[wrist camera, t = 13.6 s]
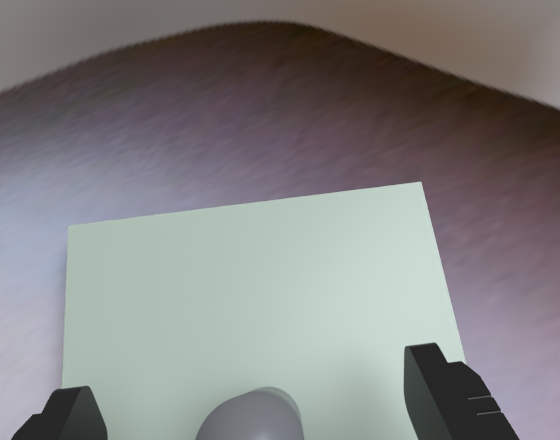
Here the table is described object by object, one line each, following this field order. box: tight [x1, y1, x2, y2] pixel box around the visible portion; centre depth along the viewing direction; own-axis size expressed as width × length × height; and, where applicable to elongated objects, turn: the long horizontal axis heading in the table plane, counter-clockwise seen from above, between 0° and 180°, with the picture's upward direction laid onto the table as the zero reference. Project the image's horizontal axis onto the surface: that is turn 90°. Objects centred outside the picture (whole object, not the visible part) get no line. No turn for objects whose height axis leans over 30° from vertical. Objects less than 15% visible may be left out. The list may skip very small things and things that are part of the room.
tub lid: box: [62, 182, 466, 440], centre depth 14 cm, size 15×17×10 cm
